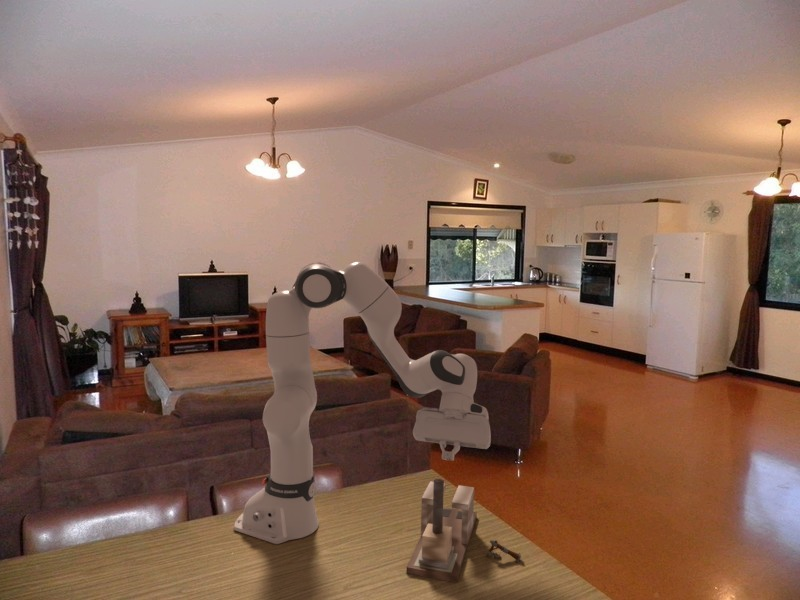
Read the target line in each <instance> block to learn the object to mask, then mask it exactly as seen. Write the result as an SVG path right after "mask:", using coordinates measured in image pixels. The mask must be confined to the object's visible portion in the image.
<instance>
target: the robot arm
mask: <svg viewBox="0 0 800 600" xmlns="http://www.w3.org/2000/svg"><path fill="white" fill-rule="evenodd" d="M342 300H343V301H345V302H346V303H347V304H348V305H349V306H351V308H352V309H353V310H354V311H355V312H356V313H357V314H358V315H359V316H360V318H361V319H362V320H363V322H364V324H365V326H366V328H367V331H366V332H367V335H368V337H369V339H370V341H371V343H372V344H373V345H374V347H375V348H376V350H377V351H378V353H379V354H380V356H381V357H382V359H383V360H384V361H385V363H386V364H387V366H388V367H389V368H390V370H391V371H392V373H393V375H394V376H395V378H396V380H397V382H398V384H399V386H400V388H401V389H402V391H403V392H404V393H405V394H406V395H407V396H409V397H412V398H414V399H421V398H422V397H424V396H426V395H428V394H430V393H431V392H434V391H437V390H439V391H441V397H440V398H441V399H440V404H439V408H437V407H427V406H424V407H422V408H420V409H418V410H417V411H416V416H415V423H414V425H413V430H412V436H413V438H414V439H415V440H416V441H417V442H427V443H432V444H433V443H436V444H439V446H440V449H441V452H442V453H441V460H445V461H451V462H452V461H453V462H454V461H455V455H456V454H458V453H459V451H460V449H461V447H466V448H474V449H482V450H487V449H489V447H490V446H491V441H492V438H491V437H492V436H491V426H490V420H489V419H490V418H489V411H488V409H487V408H486V407H485V406H483V405H480V404H478V403H476V402H475V401H474V396H475V395H474V394H475V392H476V390H477V383H478V366H477V362H476V361H475V359H474V358H472V357H471V356H469V355H467V354H465V353H456V354H453V353H449V352H448V351H446V350H443V349H437V350H434V351H432V352H430V353H428V354H426V355H424V356H422V357H419V358H418V359H413V358H410V357H409V356H408V354H407V353H406V352H405V350H404V348H403V347H402V346H401V345H400V343H399V342H398V340H397V338H396V336H395V328H396V326H397V324H398V323H399V321H400V318H401V315H402V311H403V310H402V307H403V305H402V301H401V299H400V297H399V295H398V294H397V293H396V292H395V291H394V289H393V288H392V287H391V286H390V285H389V284H388V283H387V282H386V280H385V279H384V278H382V276H380V275H379V274H378V273H377V272H376V271H375V270H374V269H372V267H370V266H368V265H367V264H366V263H364V262H362V261H354V262H351V263H348V264H347V265H345V267H344V268H342V269H340V270H335V269H333V268H332V267H331V266H330V265H328V264H326V263H324V262H312V263H309V264H307V265H305V266H303V268H301V270H300V271H299V272H298V274H297V276H296V279H295V282H294V284H293V285H292V288H290V289H288V290H287V289H285V290H279V291H276V292H275V293H273V294H271V296H269V298H268V300H267V305H266V313H265V342H266V359H267V366H268V367H269V369H270V372H271V375H272V376H271V377H272V380H273V384H274V385H273V386H274V392H273V394H272V396H271V397H270V398H269V399H268V400H267V402H266V404H265V405H264V409H263V413H262V423H263V424H262V425H263V426H264V428H265V430H266V433H267V437H268V443H269V449H270V472H269V473H268V474H267V475H266V476H265V478H264V479H263V480H262V481H261V483H262V484H261V486H264V485H265V486H264V487H263V488H261V489H260V490H259V491H257V492H256V493H255V494H254V495H252V496H251V497H250V498H249V499H248V500H247V502H246V503H245V505H244V509H243V512H242V513H241V514H240V515H239V516H238V517H237V519H235V522H234V526H233V530H234V531H236V532H239V533H242V534H245V535H247V536H251V537H254V538H257V539H259V540H263V541H266V542H269V543H272V544H273V545H279V544H282V543H284V542H287V541H291V540H298V539H302V538H305V537H308V536H310V535H312V534H313V533H314V532H315V531H317V530H318V528H319V525H320V521H319V519H318V516H317V512H316V506H315V505H316V504H315V497H314V496H315V489H316V486H315V473H314V468H313V467H314V450H313V449H314V448H313V443H312V441H311V437H310V426H309V425H310V418H311V415H312V413H313V412H314V410H315V408H316V406H317V400H318V393H317V388H316V383H315V376H314V372H313V366H312V361H311V359H312V358H311V345H310V344H311V343H310V342H311V341H310V326H309V321H310V319H309V317H310V312H311V310H312V309H323V308H326V307H329V306H330V305H332V304H334V303H337V302H339V301H342ZM447 445H448V446H449V445H450V446H453V448H452V450H451V451H448V450H445V448H446V447H447Z"/></svg>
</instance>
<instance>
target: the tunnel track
mask: <svg viewBox="0 0 800 600" xmlns="http://www.w3.org/2000/svg"><path fill="white" fill-rule="evenodd" d="M433 489H434V481H431V480H430V482H429V483H428V485H427V487H426V489H425V490H424V492H423V494H422V497H421V509H420V511H421V513H420V515H421V516H420V517H421V518H420V538H419V539H418V542H417V544H416V546H415V548H414V550H413V553H412V555H411V557H410V559H409V561H408V564H407V565H406V572H405V573H406V574H408V575H409V574H410V575H414V576H415V575H416V576H421V577H424V578H431V579H436V580H440V581H441V580H442V581H447V582H452V583H456V584H457V583H458V580H459V578H460V574H461V571H462V567H463V564H464V560H465V557H466V554H467V552H468V551H467V550H468V547H469V543H470V541H471V540H470V539H471V536H472V534H473V531H474V527H475V523H476V521H477V517H478V516H477V513H478V512H475V511H474V502H475V500H474V499H475V487H473V486H467V485H461V484H460V485H459V484H458V486H457V489H456V491H455V493H454V496H453V499H452V501H451V507H444V506H443V526H448V527H452V546H454V552H453V555H452V558H451V561H450V564H449V567H448V569H445V568H440V567H434V566H429V565H423V564H419V558H420V555H421V553H422V535H423V533H424V531H425V529H426V527H427V524H428V523H429V524H433ZM445 491H446V483H445V482H444V492H445Z"/></svg>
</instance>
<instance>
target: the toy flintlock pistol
mask: <svg viewBox="0 0 800 600" xmlns="http://www.w3.org/2000/svg"><path fill="white" fill-rule="evenodd" d="M489 543H490V544H491V546H490V548H488V550H487V553H486V556H487V557H489V556H490V555H492V556H493V558H495V559H497V560H498V559H502V556H501V554H499V553H498V552H497V551H495V550H497V549H499V550H500V551H501V552H503V553H505V554H506V555H509V556H511V557H512V558H513V559H514V560H516V563H519V561H520V560H521V557H522V554H521V552H515V551H513V550H510V549H509V548H507V547H506V546H504V545H502V544H500V543H499V542H498V540H497V539H490V540H489ZM493 551H495V552H493Z"/></svg>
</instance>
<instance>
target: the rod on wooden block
mask: <svg viewBox="0 0 800 600" xmlns="http://www.w3.org/2000/svg"><path fill="white" fill-rule="evenodd" d="M433 482H434V489H433V524H429V523H428V524H427V527H426V529H425V531H424V533H423V535H422V553H421V555H420V558H419V564H423V565H429V566H434V567H440V568H445V569H448V567H449V564H450V561H451V558H452V555H453V552H454V546H452V527H448V526H443V507H444V494H445V491H444V483H445V481H444V479H441V478H435V479H433Z"/></svg>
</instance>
